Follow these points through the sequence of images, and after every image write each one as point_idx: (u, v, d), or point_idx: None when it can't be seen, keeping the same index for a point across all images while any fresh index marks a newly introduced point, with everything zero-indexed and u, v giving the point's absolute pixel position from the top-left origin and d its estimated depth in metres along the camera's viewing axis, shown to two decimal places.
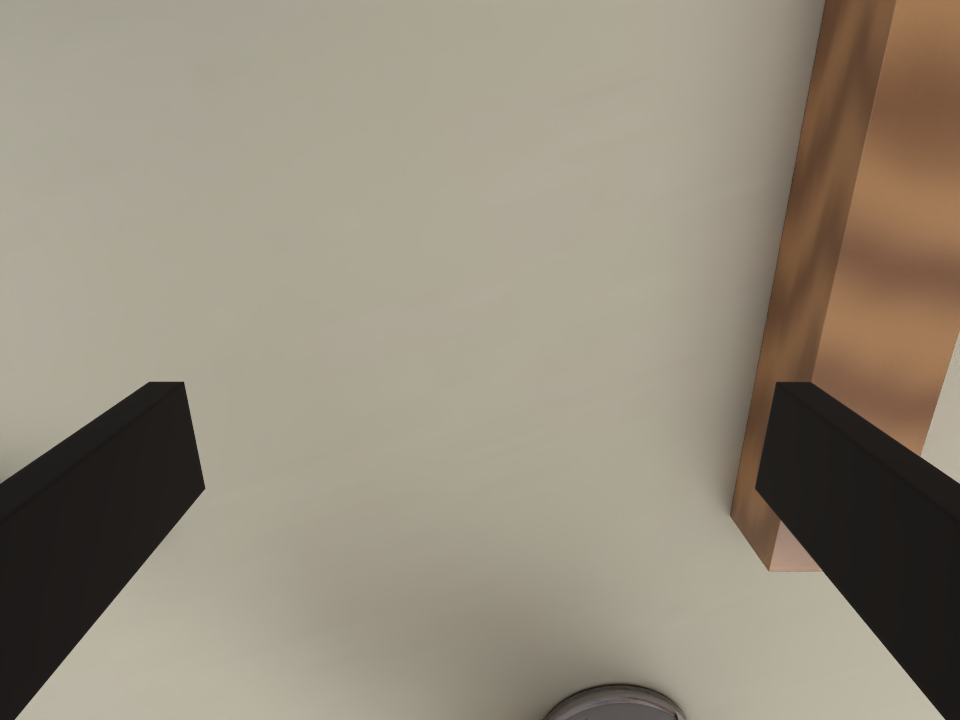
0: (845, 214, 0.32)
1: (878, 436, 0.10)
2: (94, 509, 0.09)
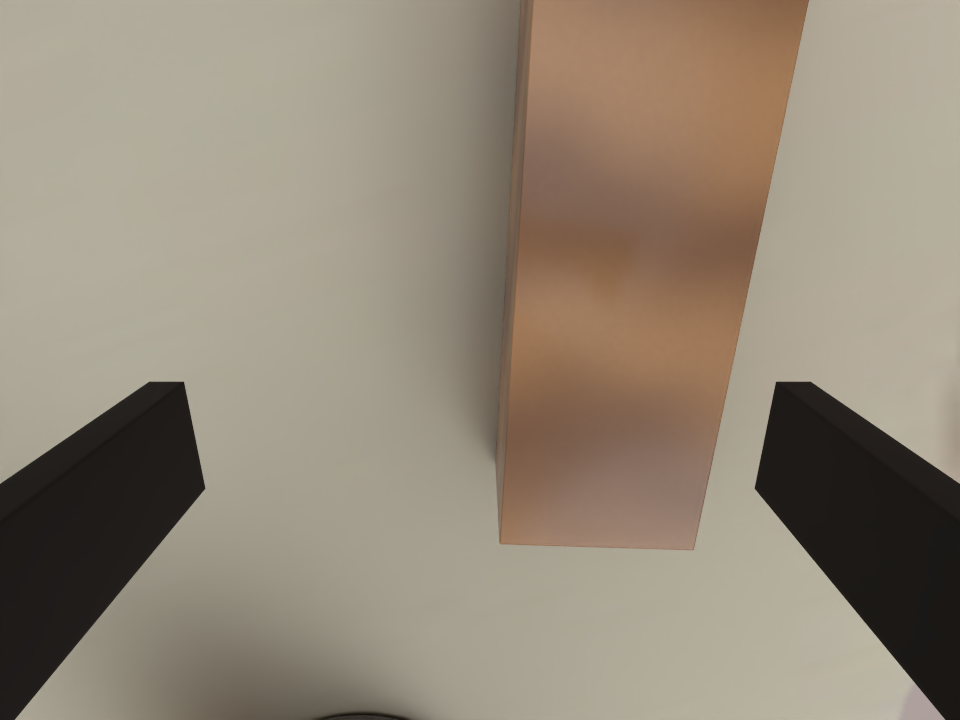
0: None
1: (877, 437, 0.10)
2: (94, 509, 0.09)
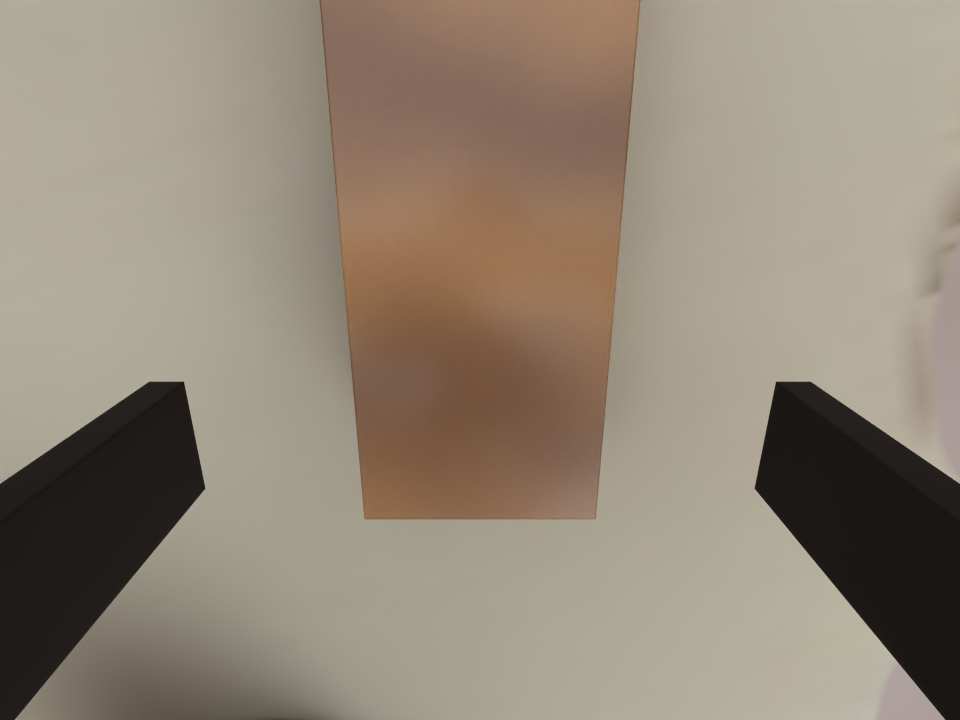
0: None
1: (877, 436, 0.10)
2: (94, 509, 0.09)
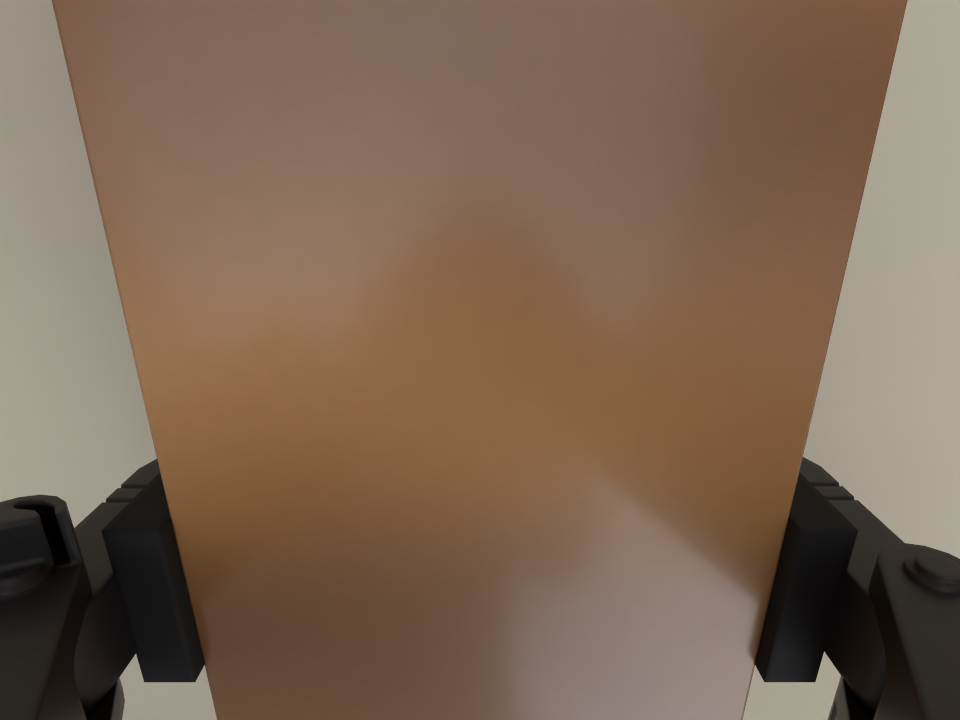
0: None
1: None
2: None
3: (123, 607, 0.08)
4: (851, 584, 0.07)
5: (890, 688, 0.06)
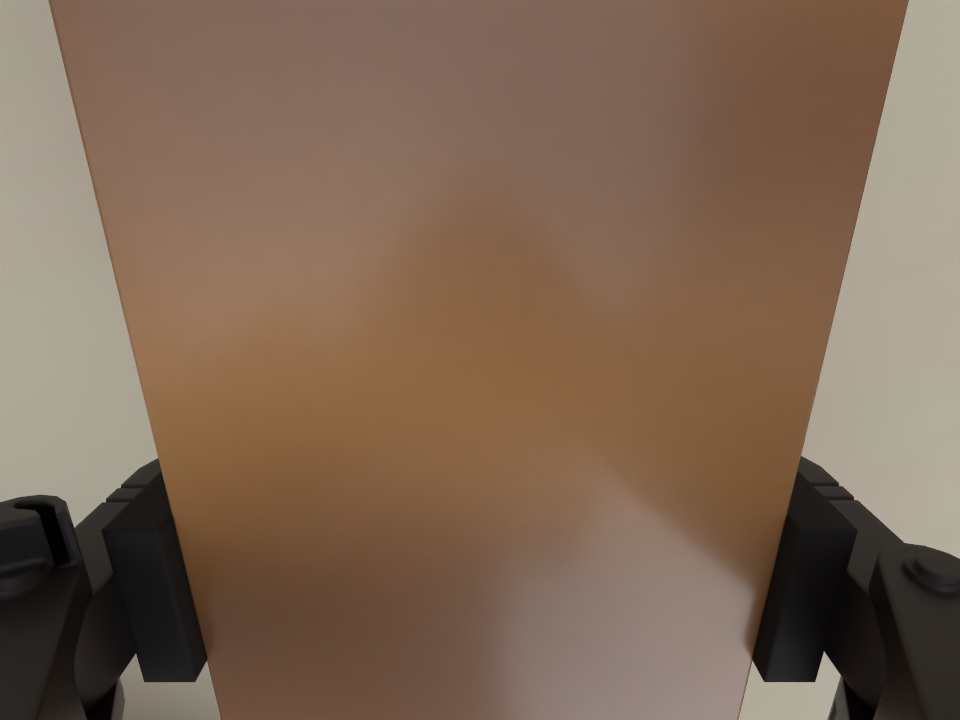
0: None
1: None
2: None
3: (123, 607, 0.08)
4: (851, 585, 0.07)
5: (890, 688, 0.06)
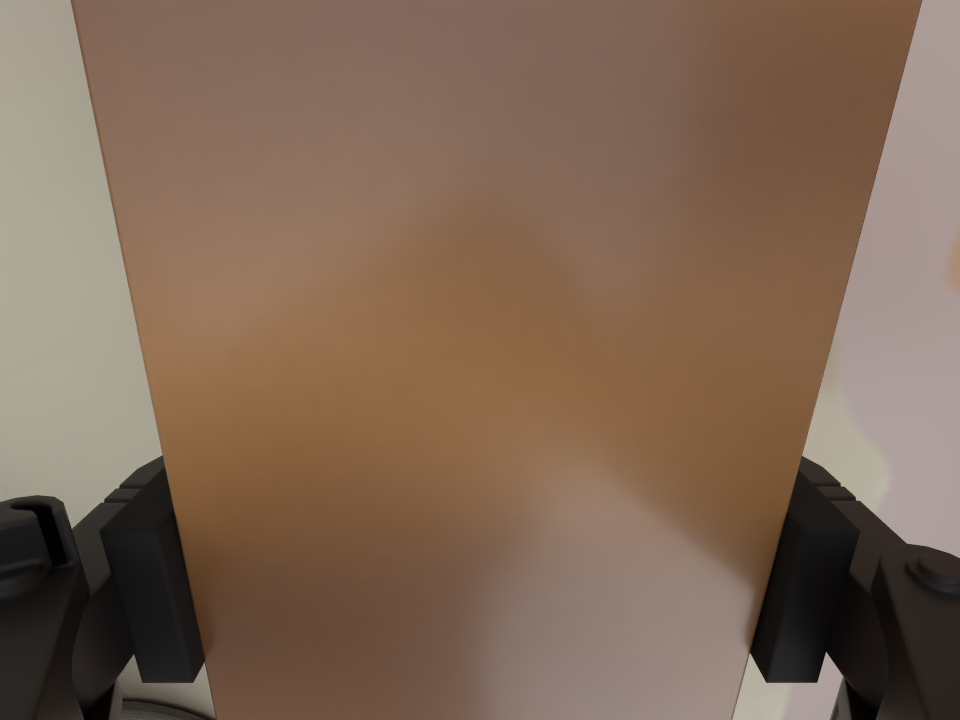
0: None
1: None
2: None
3: (121, 608, 0.08)
4: (854, 585, 0.07)
5: (892, 689, 0.06)
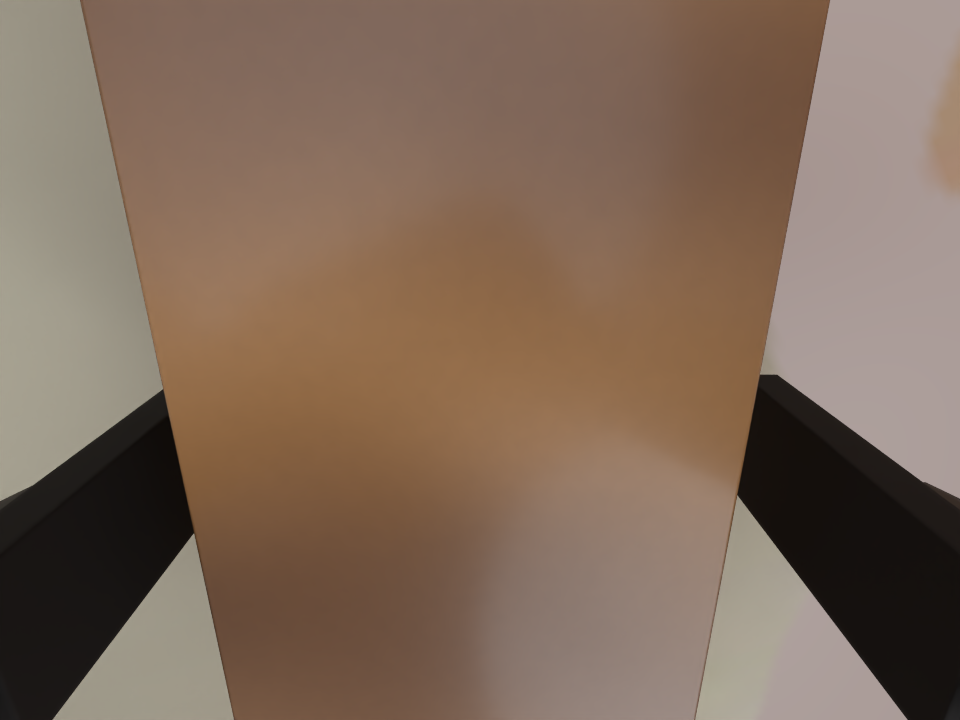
0: None
1: (834, 426, 0.10)
2: (139, 495, 0.10)
3: None
4: None
5: None
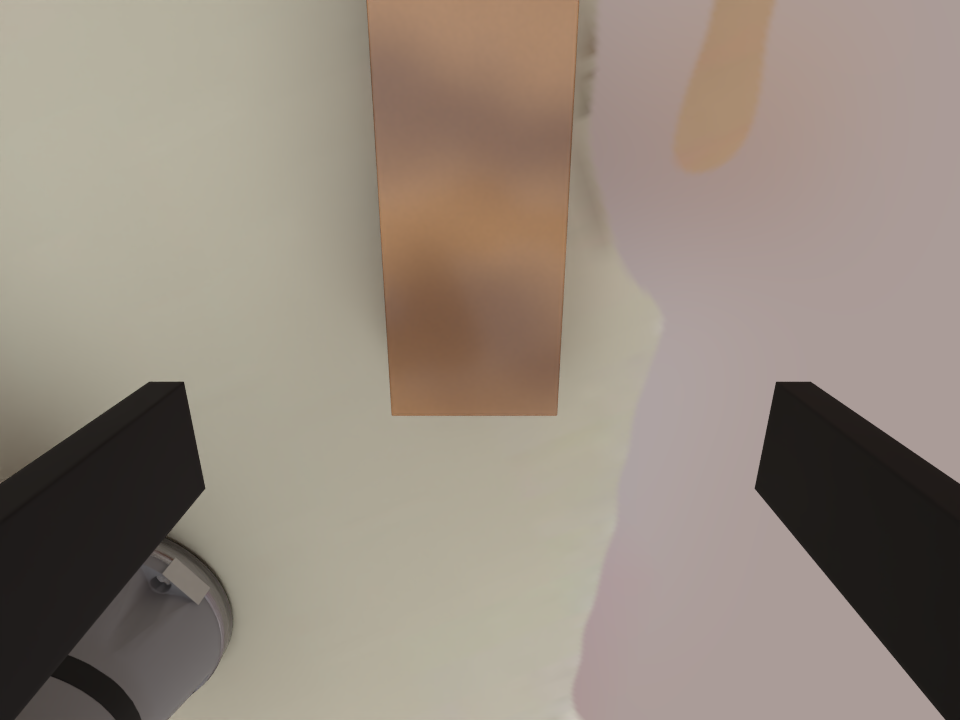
0: None
1: (877, 436, 0.10)
2: (94, 509, 0.09)
3: None
4: None
5: None
